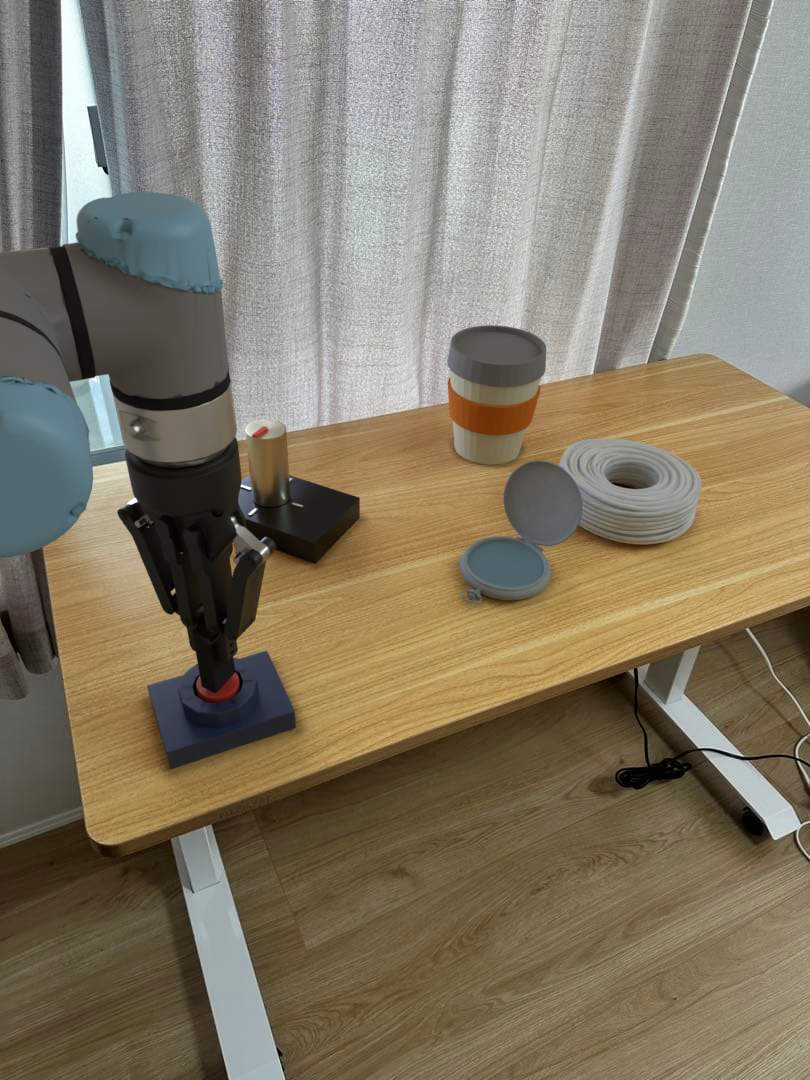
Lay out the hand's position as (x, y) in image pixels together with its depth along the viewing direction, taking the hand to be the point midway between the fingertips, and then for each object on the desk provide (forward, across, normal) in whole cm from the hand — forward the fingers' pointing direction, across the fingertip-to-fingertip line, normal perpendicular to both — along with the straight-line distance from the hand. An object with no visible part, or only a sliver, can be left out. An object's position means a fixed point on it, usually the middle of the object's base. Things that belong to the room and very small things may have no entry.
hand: (218, 679), depth 69 cm
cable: (+5, +23, +50) cm, 55 cm away
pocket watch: (+5, +15, +31) cm, 35 cm away
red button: (+2, 0, 0) cm, 2 cm away
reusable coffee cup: (+5, +3, +55) cm, 55 cm away
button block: (+5, 0, 0) cm, 5 cm away
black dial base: (+5, -11, +27) cm, 29 cm away
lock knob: (+2, -13, +27) cm, 30 cm away
